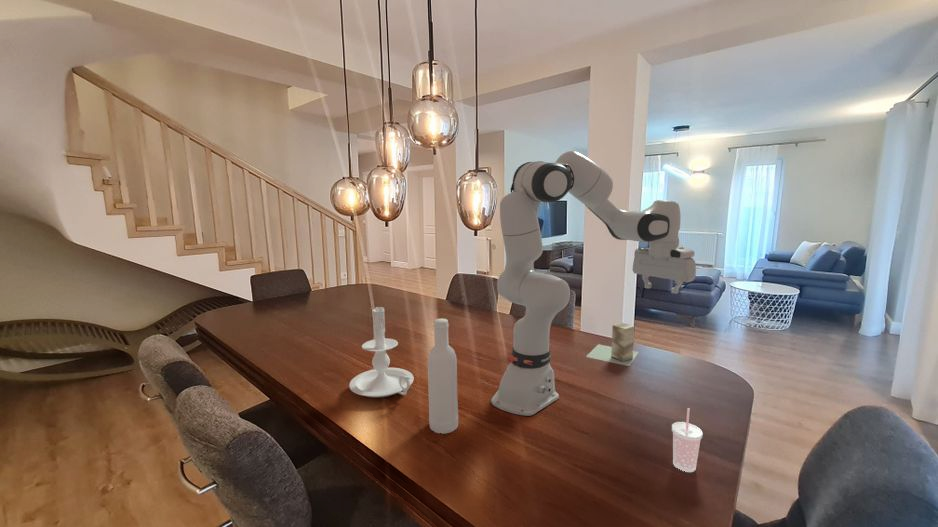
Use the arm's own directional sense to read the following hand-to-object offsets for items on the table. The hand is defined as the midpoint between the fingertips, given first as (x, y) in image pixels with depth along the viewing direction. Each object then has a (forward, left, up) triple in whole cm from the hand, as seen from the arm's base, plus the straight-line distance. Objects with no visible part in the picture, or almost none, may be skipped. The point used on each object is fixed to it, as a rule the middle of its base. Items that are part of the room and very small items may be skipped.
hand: (660, 290), depth 130 cm
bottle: (-65, +42, -30) cm, 83 cm away
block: (+8, +13, -30) cm, 33 cm away
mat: (+10, +17, -30) cm, 36 cm away
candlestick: (-60, +70, -30) cm, 97 cm away
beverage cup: (-47, -14, -30) cm, 58 cm away
